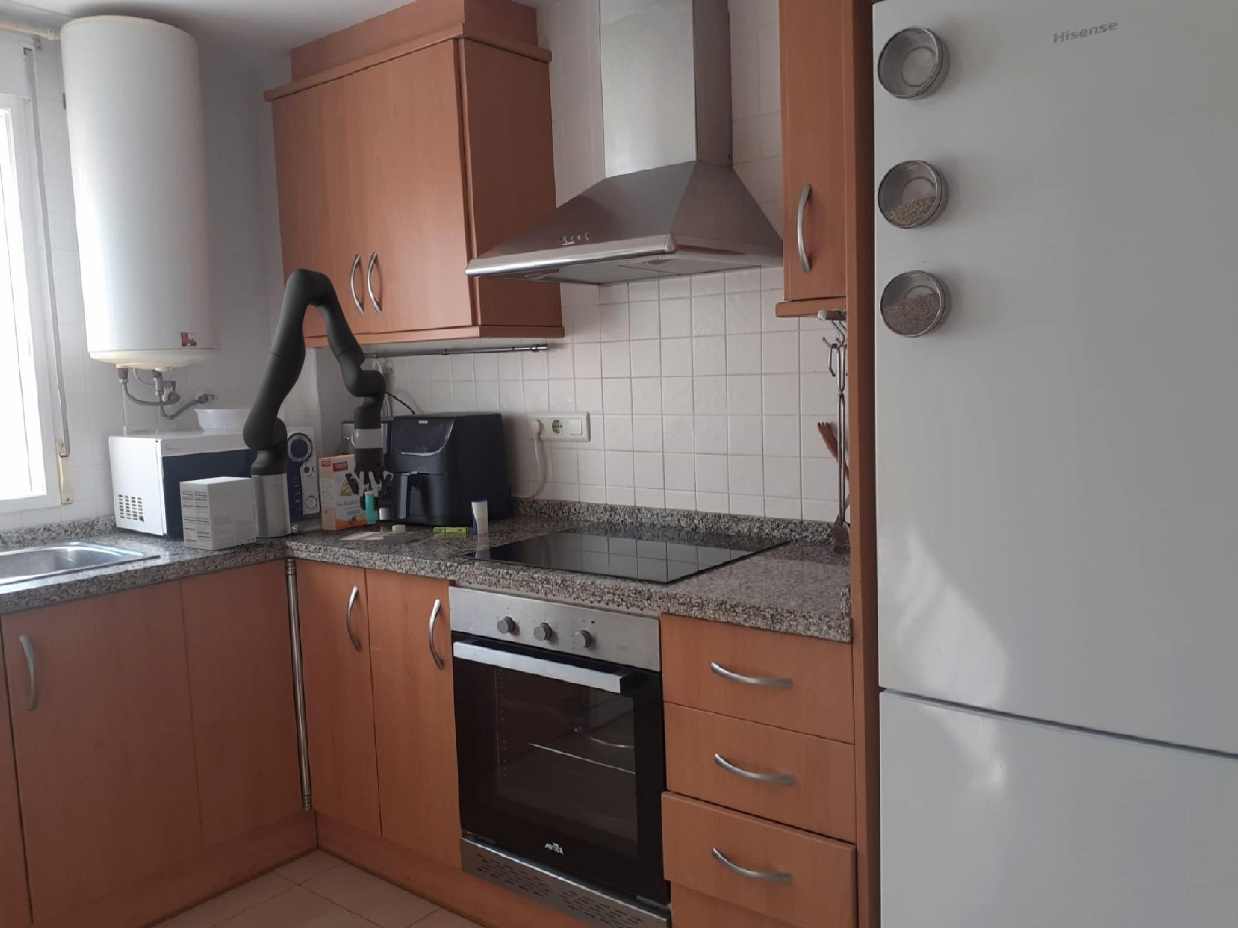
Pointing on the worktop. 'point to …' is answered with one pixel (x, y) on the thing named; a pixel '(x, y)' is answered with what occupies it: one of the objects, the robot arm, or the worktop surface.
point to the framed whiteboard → (366, 536)
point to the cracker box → (339, 494)
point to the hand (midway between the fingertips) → (371, 509)
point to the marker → (370, 507)
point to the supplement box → (217, 512)
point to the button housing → (399, 538)
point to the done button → (398, 529)
